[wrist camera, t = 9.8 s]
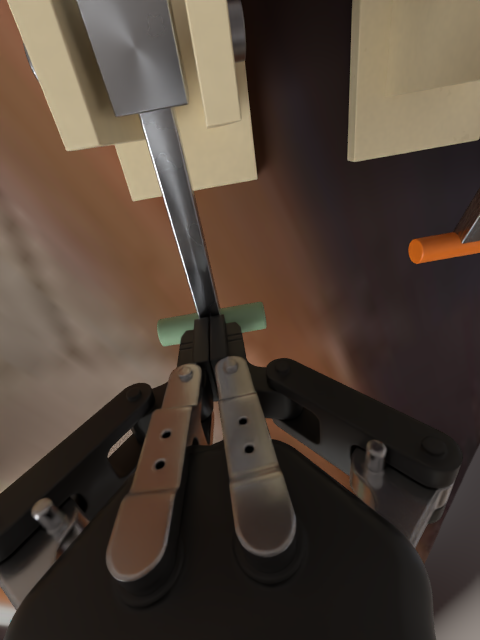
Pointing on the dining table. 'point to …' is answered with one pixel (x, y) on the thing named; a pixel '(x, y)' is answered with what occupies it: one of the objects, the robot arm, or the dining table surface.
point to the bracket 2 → (413, 76)
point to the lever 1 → (160, 135)
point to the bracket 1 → (126, 132)
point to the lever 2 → (451, 238)
